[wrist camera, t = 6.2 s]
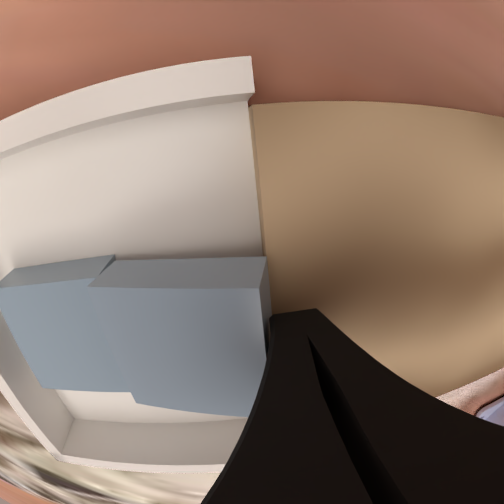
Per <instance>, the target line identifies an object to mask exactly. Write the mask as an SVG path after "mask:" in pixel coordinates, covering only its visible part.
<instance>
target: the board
mask: <svg viewBox="0 0 504 504" xmlns="http://www.w3.org/2000/svg"><path fill="white" fill-rule="evenodd" d="M248 111H249V120H250V130H251V140H252V150H253V159H254V169H255V179H256V190H257V200H258V210H259V221H260V231H261V242H262V252H263V256H267V262H268V274H269V286H270V298H271V310H272V315H273V314H279V313H286V312H293V311H300V310H307V309H313V308H317V309H318V310H319V311H320V312H322V313H323V314H324V315H325V316H326V317H327V318H328V319H329V320H330V321H331V322H332V323H333V324H335V325H336V326H337V327H338V328H339V329H340V330H341V331H342V332H343V333H345V334H346V335H347V336H348V337H349V338H350V339H351V340H353V341H354V342H355V343H356V344H357V345H359V346H360V347H361V348H362V349H363V350H365V351H366V352H367V353H368V354H370V355H371V356H372V357H373V358H375V359H376V360H377V361H379V362H380V363H381V364H383V365H384V366H385V367H387V368H388V369H390V370H391V371H392V372H394V373H395V374H397V375H398V376H399V377H401V378H403V379H404V380H406V381H407V382H409V383H410V384H412V385H414V386H416V387H417V388H419V389H421V390H422V391H424V392H426V393H428V394H429V395H431V396H433V397H437V396H440V395H442V394H445V393H447V392H450V391H452V390H455V389H457V388H460V387H462V386H465V385H467V384H469V383H471V382H474V381H476V380H478V379H480V378H483V377H485V376H487V375H489V374H491V373H493V372H495V371H497V370H499V369H501V368H503V367H504V117H499V116H494V115H489V114H484V113H478V112H472V111H466V110H459V109H452V108H444V107H436V106H427V105H416V104H404V103H390V102H368V101H305V102H283V103H268V104H255V105H251V106H250V107H249V108H248Z"/></svg>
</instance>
